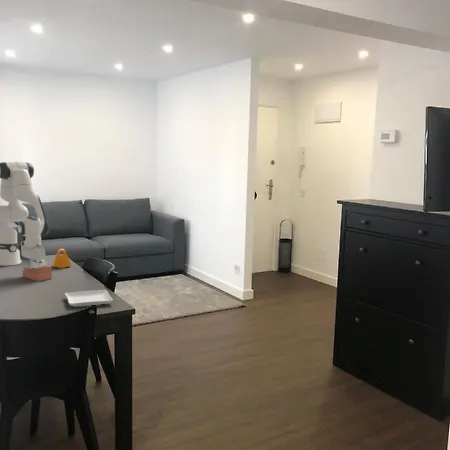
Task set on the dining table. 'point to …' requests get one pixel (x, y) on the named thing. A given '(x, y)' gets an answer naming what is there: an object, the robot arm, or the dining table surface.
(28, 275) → the pink boxy piece
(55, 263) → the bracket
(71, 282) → the dining table surface
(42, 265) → the block with knob
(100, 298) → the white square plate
